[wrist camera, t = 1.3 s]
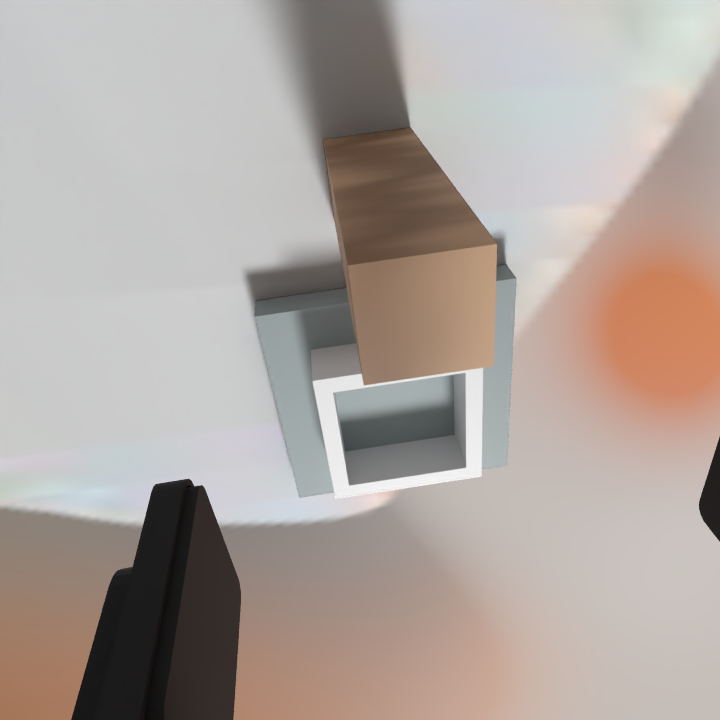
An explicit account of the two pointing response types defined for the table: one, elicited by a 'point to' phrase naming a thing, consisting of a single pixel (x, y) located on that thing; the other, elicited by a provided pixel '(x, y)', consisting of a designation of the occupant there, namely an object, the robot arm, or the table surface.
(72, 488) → the table surface
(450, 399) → the bracket
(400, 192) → the rail post
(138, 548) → the robot arm
